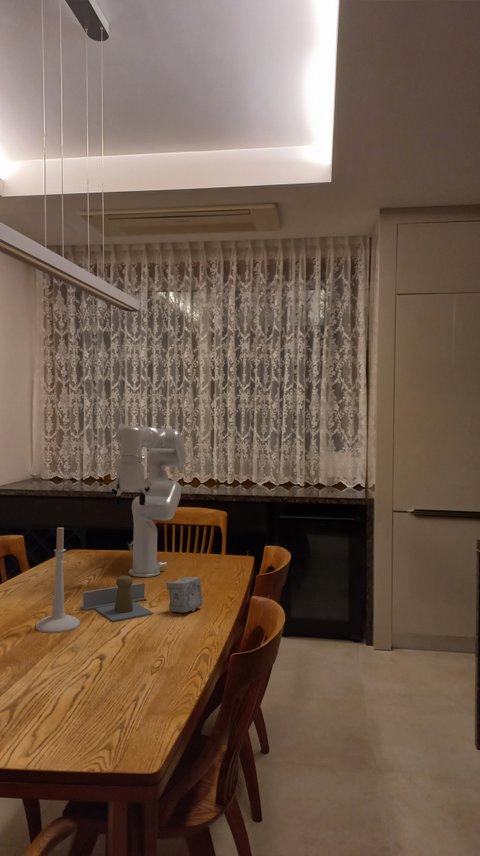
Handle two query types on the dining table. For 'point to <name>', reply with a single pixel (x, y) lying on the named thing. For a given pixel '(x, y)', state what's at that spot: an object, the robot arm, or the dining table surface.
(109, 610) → the slate mat
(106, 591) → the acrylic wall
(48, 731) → the dining table surface
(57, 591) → the candlestick
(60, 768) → the dining table surface
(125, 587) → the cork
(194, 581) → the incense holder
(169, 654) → the dining table surface
